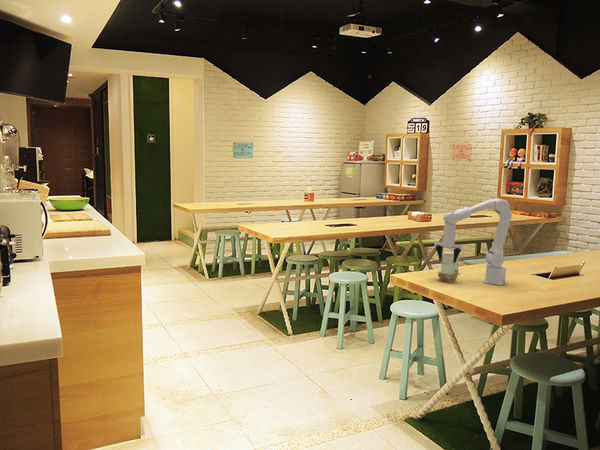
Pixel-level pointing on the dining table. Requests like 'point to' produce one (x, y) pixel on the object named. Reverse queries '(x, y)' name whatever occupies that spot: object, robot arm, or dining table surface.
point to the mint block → (448, 268)
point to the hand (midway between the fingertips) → (447, 261)
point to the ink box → (450, 260)
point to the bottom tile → (447, 280)
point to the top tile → (447, 276)
